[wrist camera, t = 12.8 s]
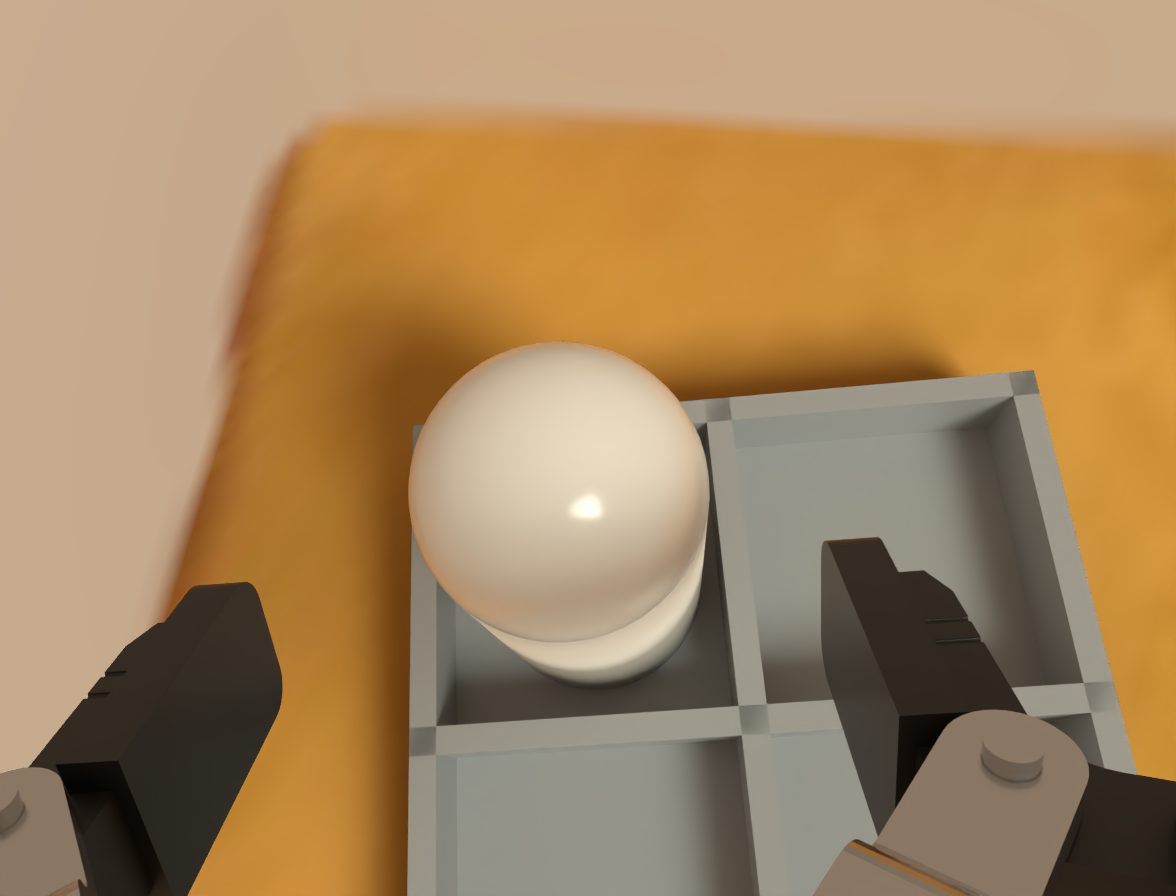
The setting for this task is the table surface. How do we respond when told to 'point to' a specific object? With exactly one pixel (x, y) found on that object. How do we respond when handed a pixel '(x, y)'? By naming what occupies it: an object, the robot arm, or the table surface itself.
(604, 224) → the table surface
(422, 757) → the grey compartment tray
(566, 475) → the cream rounded cylinder
